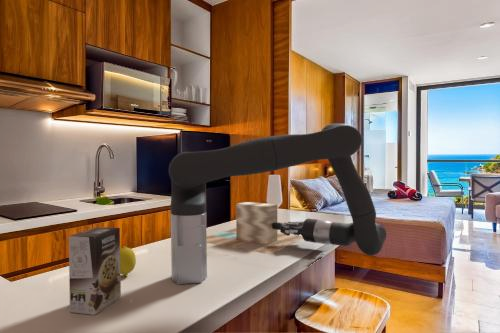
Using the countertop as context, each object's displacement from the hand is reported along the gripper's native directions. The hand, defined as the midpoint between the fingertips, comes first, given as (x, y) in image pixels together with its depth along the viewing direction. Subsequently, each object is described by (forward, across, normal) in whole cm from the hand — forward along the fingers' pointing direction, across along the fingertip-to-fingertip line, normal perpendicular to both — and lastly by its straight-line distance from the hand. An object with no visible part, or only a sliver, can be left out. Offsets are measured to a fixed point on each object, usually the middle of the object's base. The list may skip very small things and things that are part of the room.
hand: (273, 225), depth 117 cm
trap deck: (+9, 0, +8) cm, 12 cm away
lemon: (+19, +47, +8) cm, 51 cm away
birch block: (+7, 0, +6) cm, 9 cm away
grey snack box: (+9, +61, +8) cm, 62 cm away
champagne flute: (+11, -20, +8) cm, 24 cm away
